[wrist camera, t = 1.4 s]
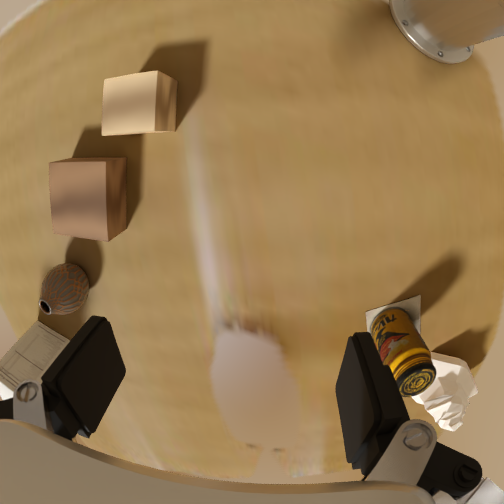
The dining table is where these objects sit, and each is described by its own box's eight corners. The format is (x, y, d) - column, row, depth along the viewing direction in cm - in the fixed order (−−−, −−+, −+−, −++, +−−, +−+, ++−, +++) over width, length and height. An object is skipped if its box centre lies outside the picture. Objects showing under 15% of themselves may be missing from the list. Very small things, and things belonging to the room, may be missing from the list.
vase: (102, 279, 37) (69, 311, 29) (86, 305, 39) (56, 337, 31) (70, 247, 35) (33, 273, 27) (57, 276, 38) (24, 303, 30)
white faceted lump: (421, 399, 45) (421, 457, 33) (397, 360, 42) (397, 429, 31) (474, 376, 38) (484, 435, 26) (460, 331, 36) (477, 400, 24)
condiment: (365, 311, 36) (391, 374, 25) (420, 293, 34) (459, 348, 23) (369, 349, 38) (390, 410, 27) (419, 332, 37) (450, 388, 26)
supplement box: (41, 348, 46) (0, 398, 30) (36, 318, 42) (-13, 370, 27) (75, 369, 47) (37, 427, 31) (73, 341, 43) (26, 402, 28)
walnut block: (72, 157, 31) (48, 162, 26) (127, 157, 30) (105, 161, 26) (75, 221, 34) (53, 233, 30) (127, 227, 34) (108, 241, 29)
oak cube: (130, 86, 27) (104, 79, 21) (178, 81, 27) (157, 70, 21) (128, 134, 29) (101, 135, 24) (175, 131, 29) (154, 131, 23)
